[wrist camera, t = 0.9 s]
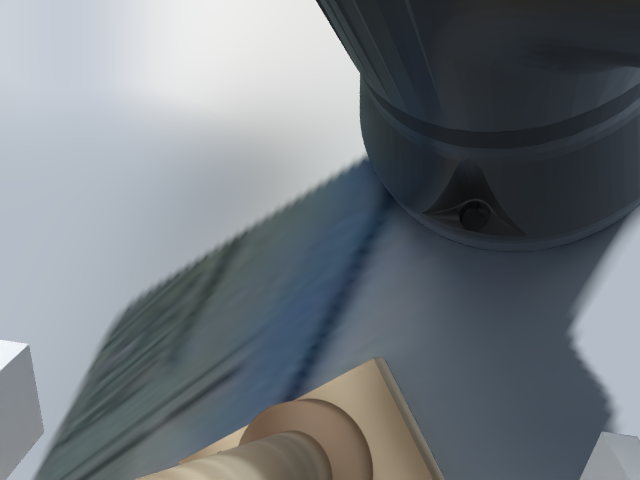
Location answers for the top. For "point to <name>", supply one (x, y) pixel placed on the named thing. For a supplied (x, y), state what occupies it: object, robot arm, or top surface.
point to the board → (369, 423)
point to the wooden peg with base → (287, 448)
